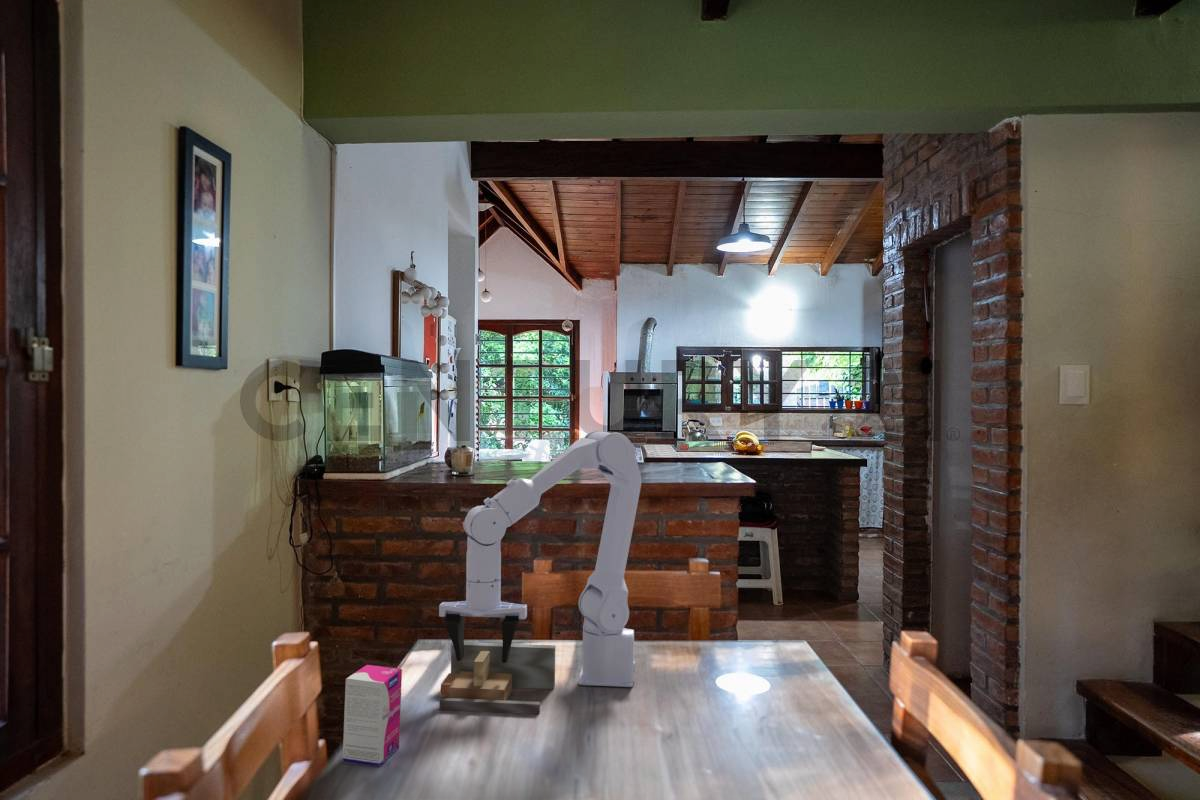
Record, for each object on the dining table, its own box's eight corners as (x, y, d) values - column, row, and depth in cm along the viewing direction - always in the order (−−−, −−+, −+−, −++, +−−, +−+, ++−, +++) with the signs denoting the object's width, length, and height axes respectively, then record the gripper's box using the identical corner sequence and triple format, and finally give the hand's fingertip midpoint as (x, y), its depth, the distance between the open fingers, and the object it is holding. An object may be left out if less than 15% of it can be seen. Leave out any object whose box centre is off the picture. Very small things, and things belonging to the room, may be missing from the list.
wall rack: (554, 685, 125) (555, 645, 125) (545, 714, 114) (545, 670, 114) (451, 681, 126) (451, 641, 126) (431, 709, 115) (432, 665, 115)
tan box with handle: (512, 690, 123) (512, 650, 123) (503, 708, 116) (504, 665, 116) (460, 688, 124) (460, 648, 124) (449, 705, 117) (449, 662, 117)
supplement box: (381, 768, 96) (382, 682, 96) (341, 763, 98) (342, 678, 98) (401, 747, 102) (402, 667, 102) (363, 743, 103) (364, 663, 103)
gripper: (433, 583, 117) (433, 666, 117) (522, 586, 116) (521, 670, 116) (446, 573, 124) (445, 651, 124) (529, 575, 123) (528, 654, 123)
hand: (482, 659), depth 121 cm, fingers open, 7 cm apart
